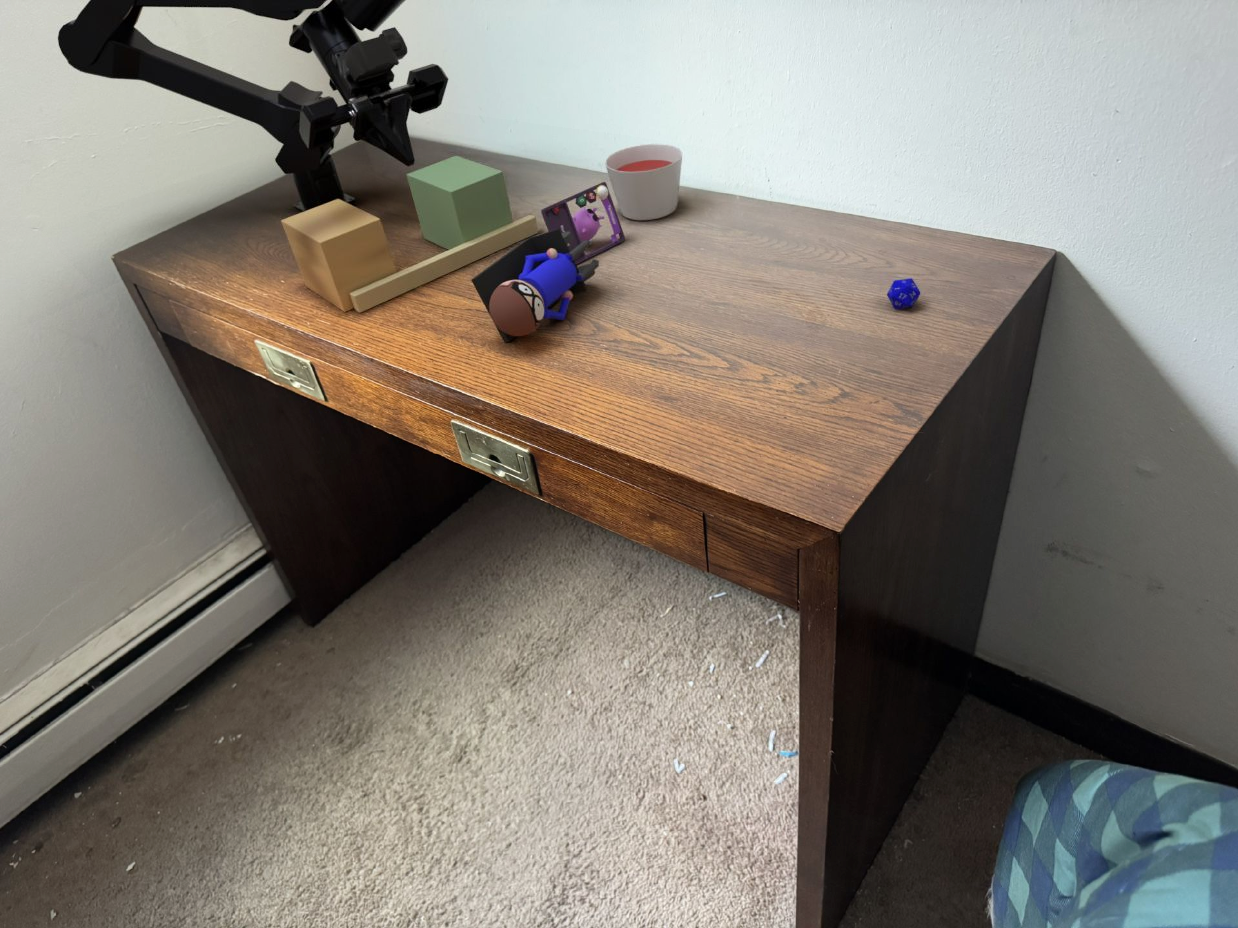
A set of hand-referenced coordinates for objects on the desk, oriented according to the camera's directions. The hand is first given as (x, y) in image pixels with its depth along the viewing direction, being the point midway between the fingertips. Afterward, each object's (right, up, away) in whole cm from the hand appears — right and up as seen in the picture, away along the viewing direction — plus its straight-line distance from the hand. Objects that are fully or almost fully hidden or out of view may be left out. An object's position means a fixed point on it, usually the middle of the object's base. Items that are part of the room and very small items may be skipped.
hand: (411, 163), depth 106 cm
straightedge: (+6, -15, -8) cm, 18 cm away
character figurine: (+18, -22, -19) cm, 34 cm away
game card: (+21, -13, -8) cm, 26 cm away
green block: (+7, -9, -1) cm, 12 cm away
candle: (+29, -6, -1) cm, 30 cm away
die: (+52, -22, -26) cm, 62 cm away
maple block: (-5, -17, -8) cm, 19 cm away
